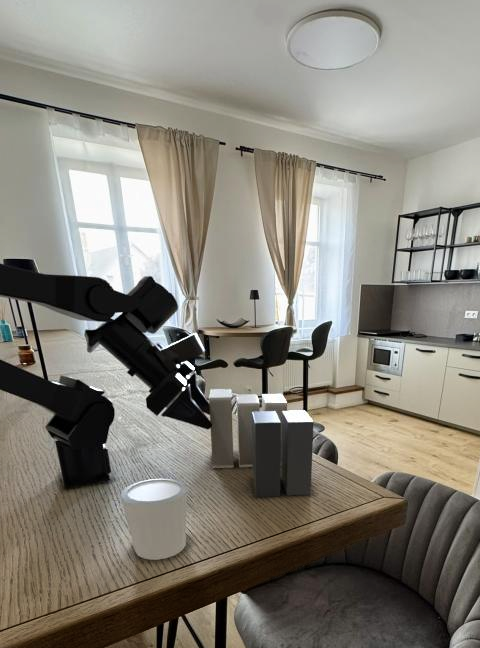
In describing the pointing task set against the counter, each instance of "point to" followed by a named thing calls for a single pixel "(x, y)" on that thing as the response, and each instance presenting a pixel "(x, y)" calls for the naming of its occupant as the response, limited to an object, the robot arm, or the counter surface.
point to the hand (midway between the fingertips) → (211, 419)
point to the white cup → (156, 517)
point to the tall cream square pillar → (221, 428)
